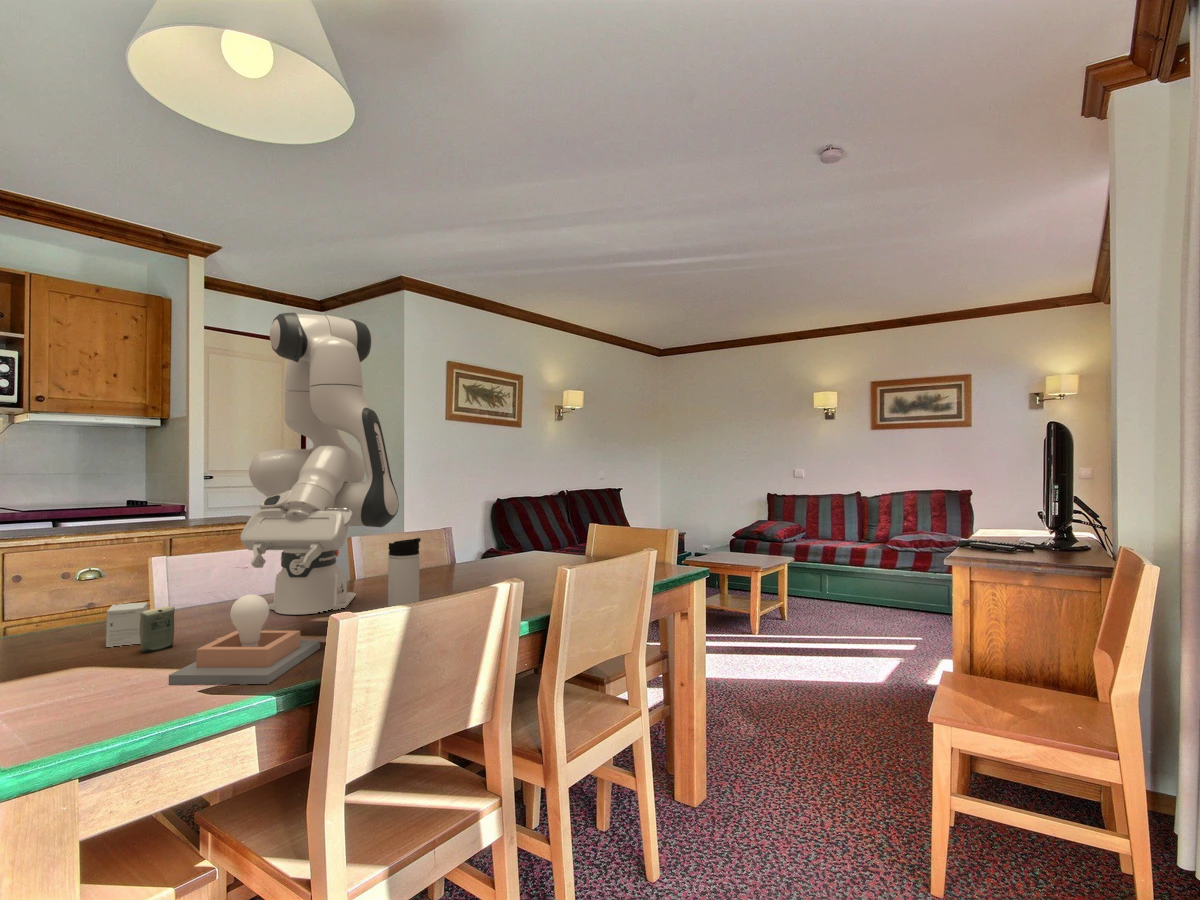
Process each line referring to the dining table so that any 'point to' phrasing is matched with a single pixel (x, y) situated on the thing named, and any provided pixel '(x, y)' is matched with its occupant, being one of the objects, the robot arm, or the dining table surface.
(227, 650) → the board
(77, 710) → the dining table surface
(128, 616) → the product box
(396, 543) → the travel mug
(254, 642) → the lightbulb
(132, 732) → the dining table surface
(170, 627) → the labelled grey plug block
